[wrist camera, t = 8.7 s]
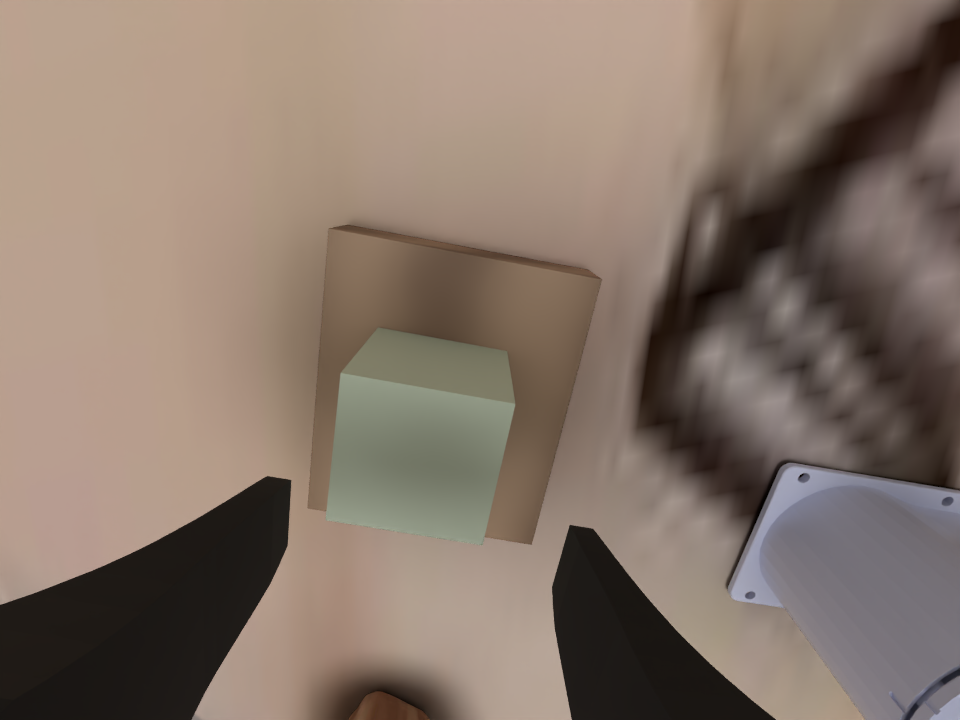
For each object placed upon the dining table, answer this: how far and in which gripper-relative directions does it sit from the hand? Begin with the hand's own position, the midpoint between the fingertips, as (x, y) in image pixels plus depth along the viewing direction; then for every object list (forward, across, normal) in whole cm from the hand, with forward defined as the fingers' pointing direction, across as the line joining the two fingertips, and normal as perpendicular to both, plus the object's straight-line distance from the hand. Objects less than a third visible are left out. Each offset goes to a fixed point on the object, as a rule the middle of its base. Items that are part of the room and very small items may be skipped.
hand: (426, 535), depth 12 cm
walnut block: (+10, 0, 0) cm, 10 cm away
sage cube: (+7, +1, 0) cm, 7 cm away
